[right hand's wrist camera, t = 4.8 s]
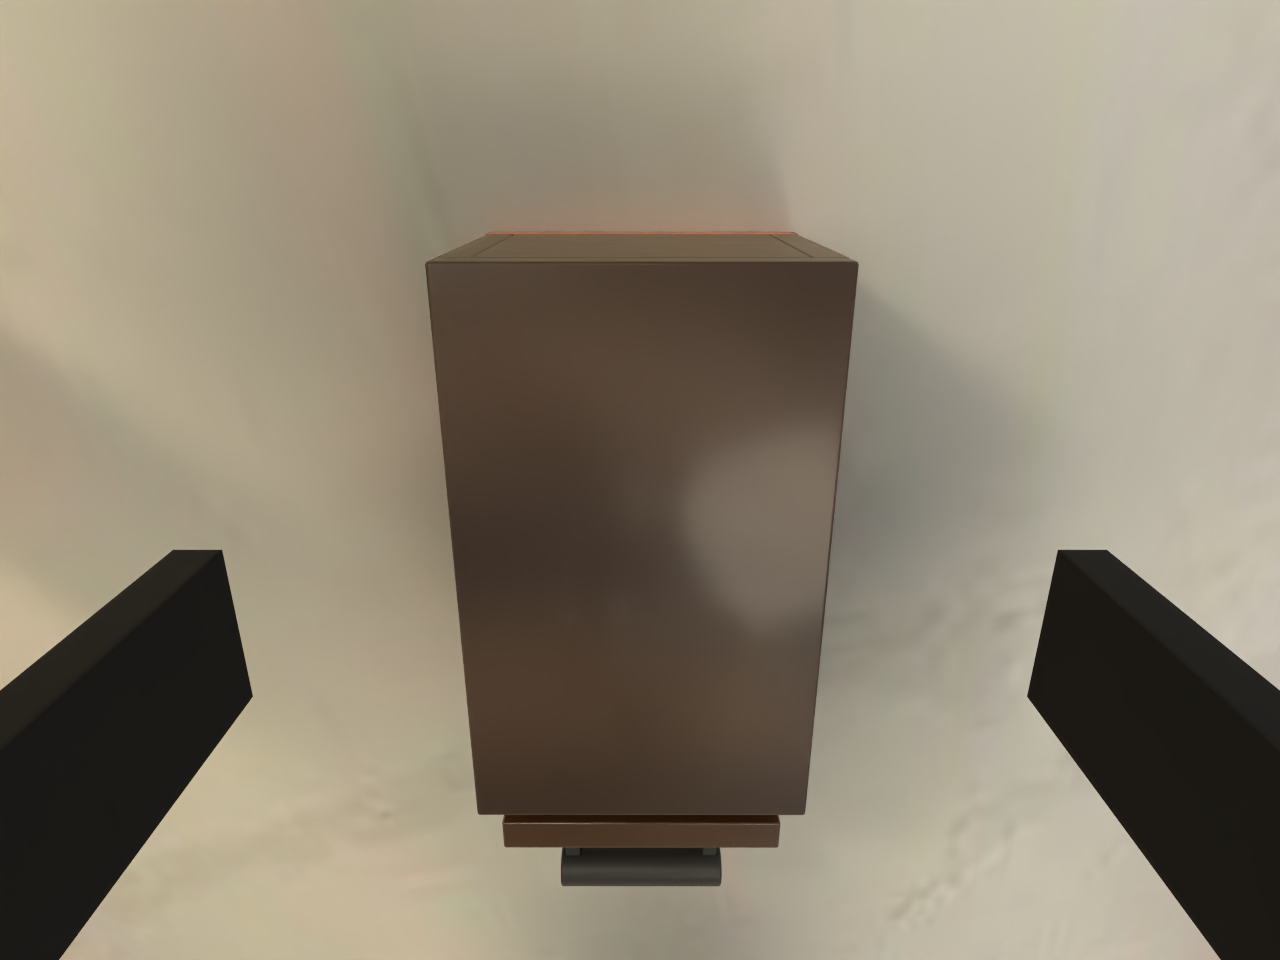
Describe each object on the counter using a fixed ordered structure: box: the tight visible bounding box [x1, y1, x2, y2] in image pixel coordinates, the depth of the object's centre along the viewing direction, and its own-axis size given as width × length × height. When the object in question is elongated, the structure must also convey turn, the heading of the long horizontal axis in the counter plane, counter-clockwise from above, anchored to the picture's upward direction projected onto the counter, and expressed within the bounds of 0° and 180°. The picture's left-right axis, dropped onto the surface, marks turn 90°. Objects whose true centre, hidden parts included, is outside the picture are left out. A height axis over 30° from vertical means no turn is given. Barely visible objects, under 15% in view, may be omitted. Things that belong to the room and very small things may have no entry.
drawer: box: [502, 815, 780, 886], centre depth 31 cm, size 23×10×8 cm, turn 0°
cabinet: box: [425, 232, 858, 815], centre depth 29 cm, size 18×11×10 cm, turn 0°
